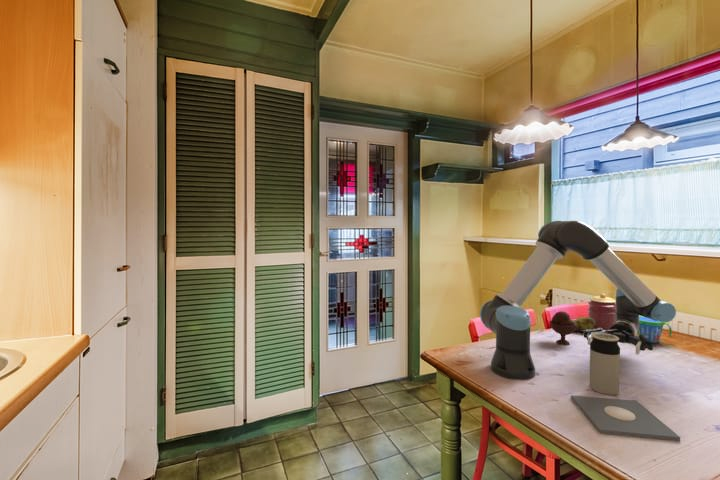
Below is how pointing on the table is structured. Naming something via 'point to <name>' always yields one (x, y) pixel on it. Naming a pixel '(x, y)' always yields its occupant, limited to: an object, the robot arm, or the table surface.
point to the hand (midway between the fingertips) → (611, 345)
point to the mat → (623, 418)
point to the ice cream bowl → (562, 326)
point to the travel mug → (605, 363)
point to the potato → (584, 323)
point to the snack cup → (651, 329)
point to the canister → (602, 311)
